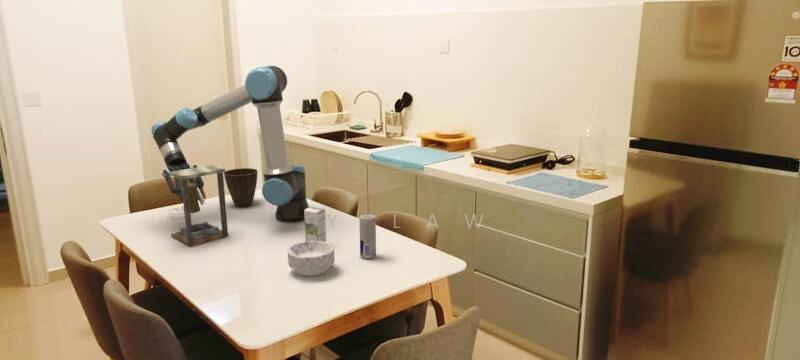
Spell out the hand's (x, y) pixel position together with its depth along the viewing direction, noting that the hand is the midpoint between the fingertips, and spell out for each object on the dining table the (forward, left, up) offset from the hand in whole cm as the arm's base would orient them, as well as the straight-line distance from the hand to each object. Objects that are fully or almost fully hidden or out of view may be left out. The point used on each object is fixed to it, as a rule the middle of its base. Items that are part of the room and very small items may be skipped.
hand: (195, 204), depth 212 cm
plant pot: (-5, -43, -13) cm, 46 cm away
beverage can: (-67, +21, -13) cm, 72 cm away
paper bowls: (-49, +33, -14) cm, 61 cm away
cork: (+3, -3, -4) cm, 5 cm away
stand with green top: (0, 0, -13) cm, 13 cm away
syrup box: (-47, +10, -14) cm, 50 cm away
